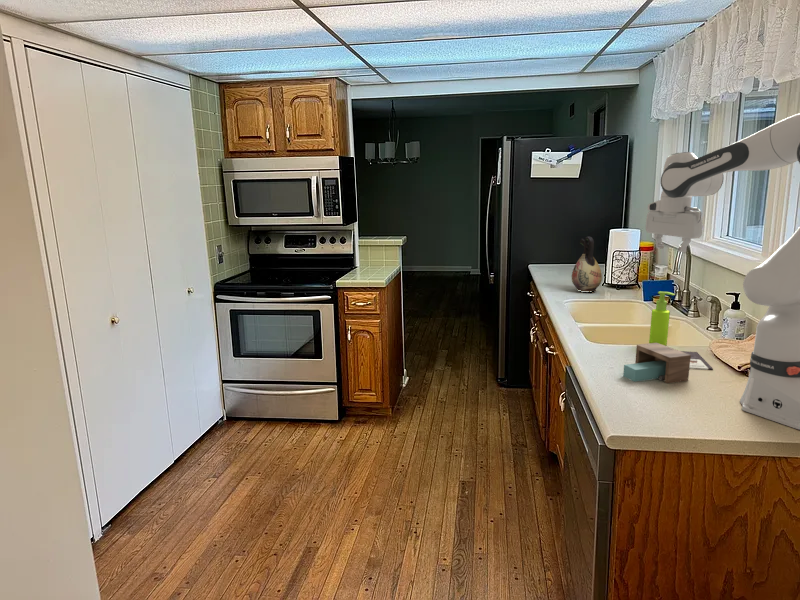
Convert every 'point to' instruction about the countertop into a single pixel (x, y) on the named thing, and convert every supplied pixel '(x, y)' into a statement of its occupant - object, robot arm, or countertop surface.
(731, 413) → the countertop surface
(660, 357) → the shelf
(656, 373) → the case
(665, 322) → the soap dispenser
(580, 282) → the ceramic jug
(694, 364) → the chocolate bar
